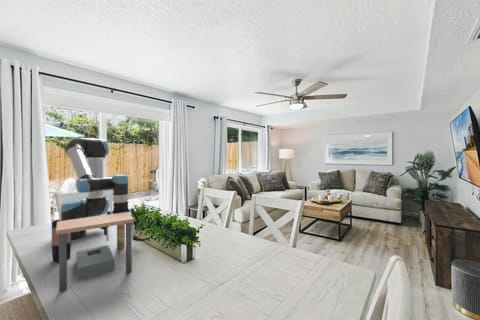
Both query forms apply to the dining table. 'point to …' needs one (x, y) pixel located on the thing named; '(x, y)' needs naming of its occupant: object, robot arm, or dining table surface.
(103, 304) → the dining table surface
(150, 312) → the dining table surface
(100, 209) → the robot arm
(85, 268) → the socket board
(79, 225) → the wooden side table
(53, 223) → the travel mug
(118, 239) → the oak peg
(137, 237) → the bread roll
